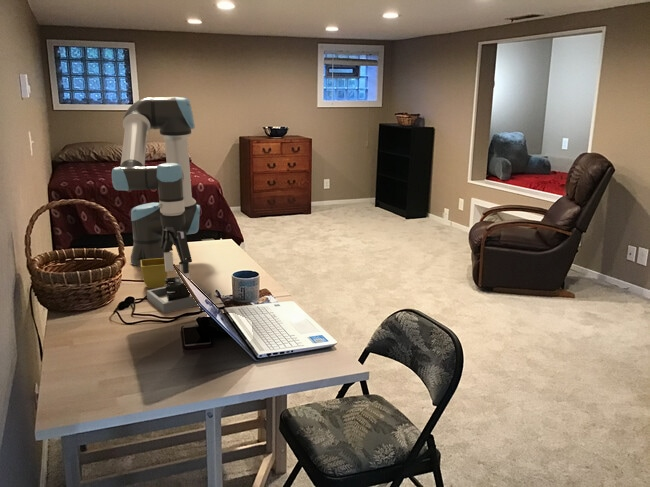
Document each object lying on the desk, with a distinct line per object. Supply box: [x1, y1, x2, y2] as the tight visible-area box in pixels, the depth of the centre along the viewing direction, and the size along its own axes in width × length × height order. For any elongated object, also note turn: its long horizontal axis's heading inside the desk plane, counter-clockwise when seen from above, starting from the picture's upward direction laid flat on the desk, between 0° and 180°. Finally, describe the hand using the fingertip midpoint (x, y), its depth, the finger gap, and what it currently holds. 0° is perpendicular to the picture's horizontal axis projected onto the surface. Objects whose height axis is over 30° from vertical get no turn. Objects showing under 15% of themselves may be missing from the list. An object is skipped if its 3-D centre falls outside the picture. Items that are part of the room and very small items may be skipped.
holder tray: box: [146, 282, 212, 314], centre depth 187 cm, size 15×16×3 cm
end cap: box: [165, 274, 190, 302], centre depth 186 cm, size 10×7×7 cm
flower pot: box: [140, 258, 168, 289], centre depth 200 cm, size 9×9×9 cm
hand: (177, 276), depth 185 cm, fingers open, 13 cm apart
